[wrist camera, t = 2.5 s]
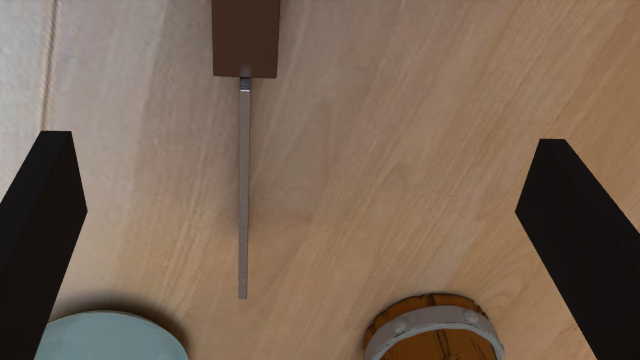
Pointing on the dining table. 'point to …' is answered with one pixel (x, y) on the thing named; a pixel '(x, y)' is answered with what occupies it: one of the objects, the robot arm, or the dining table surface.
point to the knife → (245, 81)
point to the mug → (433, 331)
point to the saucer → (107, 338)
